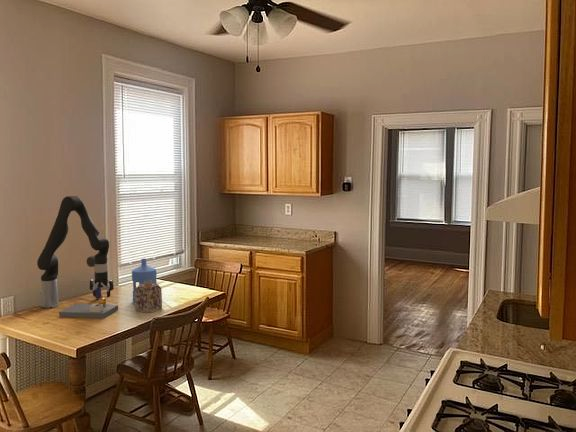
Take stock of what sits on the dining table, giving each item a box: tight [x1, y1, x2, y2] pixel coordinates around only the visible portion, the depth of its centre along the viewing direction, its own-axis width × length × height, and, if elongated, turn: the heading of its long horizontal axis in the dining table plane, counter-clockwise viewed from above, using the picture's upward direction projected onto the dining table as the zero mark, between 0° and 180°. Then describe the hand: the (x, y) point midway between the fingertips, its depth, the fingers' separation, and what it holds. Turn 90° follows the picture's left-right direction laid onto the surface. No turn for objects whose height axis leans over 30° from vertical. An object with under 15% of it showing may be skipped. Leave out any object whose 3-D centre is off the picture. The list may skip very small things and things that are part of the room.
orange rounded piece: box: [98, 297, 107, 307], centre depth 309 cm, size 4×4×8 cm
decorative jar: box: [134, 281, 163, 314], centre depth 311 cm, size 12×12×18 cm
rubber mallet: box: [86, 254, 103, 300], centre depth 337 cm, size 12×8×30 cm, turn 152°
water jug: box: [131, 258, 158, 304], centre depth 331 cm, size 16×16×28 cm
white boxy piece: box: [90, 303, 104, 312], centre depth 299 cm, size 6×5×4 cm
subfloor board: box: [58, 303, 119, 319], centre depth 305 cm, size 28×18×3 cm, turn 82°
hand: (101, 296), depth 308 cm, fingers open, 8 cm apart
